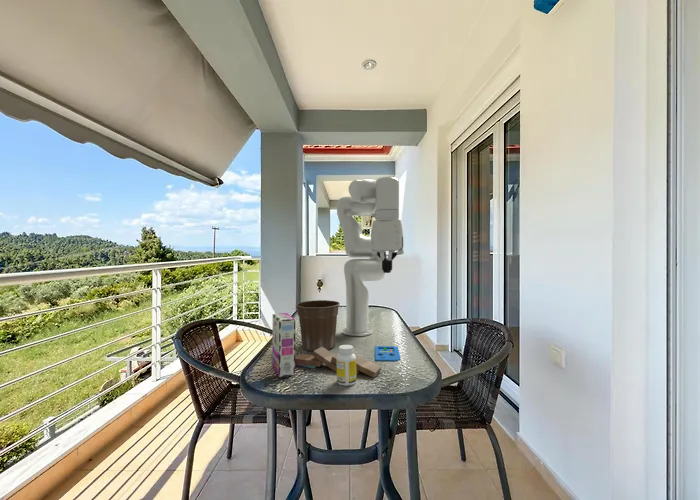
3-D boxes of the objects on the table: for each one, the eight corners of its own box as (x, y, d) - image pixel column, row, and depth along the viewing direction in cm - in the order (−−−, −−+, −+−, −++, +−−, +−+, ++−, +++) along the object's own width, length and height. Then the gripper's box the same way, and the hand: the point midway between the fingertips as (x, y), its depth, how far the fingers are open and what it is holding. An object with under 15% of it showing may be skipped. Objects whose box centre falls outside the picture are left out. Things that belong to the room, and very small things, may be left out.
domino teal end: (314, 370, 104) (289, 366, 107) (322, 365, 108) (298, 361, 112) (314, 365, 104) (289, 361, 107) (322, 360, 108) (298, 356, 112)
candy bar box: (296, 375, 98) (296, 319, 97) (279, 378, 96) (278, 320, 96) (287, 363, 108) (287, 312, 108) (271, 365, 106) (271, 313, 106)
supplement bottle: (355, 378, 96) (355, 343, 95) (356, 386, 90) (356, 349, 90) (336, 378, 95) (336, 343, 95) (336, 386, 90) (336, 349, 90)
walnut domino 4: (373, 377, 96) (346, 364, 99) (379, 371, 100) (353, 359, 104) (375, 372, 96) (347, 359, 99) (381, 366, 100) (354, 354, 104)
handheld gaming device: (375, 358, 110) (375, 345, 125) (375, 362, 110) (375, 348, 125) (401, 359, 109) (397, 345, 124) (401, 362, 109) (397, 348, 124)
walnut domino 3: (356, 374, 98) (330, 361, 102) (363, 369, 103) (338, 356, 106) (358, 369, 98) (332, 356, 102) (365, 364, 102) (340, 352, 106)
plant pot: (287, 351, 121) (287, 305, 120) (307, 339, 136) (307, 299, 136) (330, 355, 115) (329, 308, 115) (346, 342, 131) (345, 301, 130)
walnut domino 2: (335, 371, 101) (311, 355, 104) (342, 366, 105) (320, 350, 109) (336, 366, 101) (313, 350, 104) (344, 361, 105) (322, 346, 109)
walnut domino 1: (319, 366, 103) (292, 363, 105) (325, 361, 108) (299, 358, 110) (319, 361, 103) (292, 358, 105) (325, 356, 108) (299, 353, 110)
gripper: (361, 216, 109) (361, 272, 110) (407, 214, 103) (406, 274, 104) (369, 217, 116) (369, 270, 117) (412, 216, 110) (412, 272, 111)
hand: (387, 272), depth 110 cm, fingers closed
